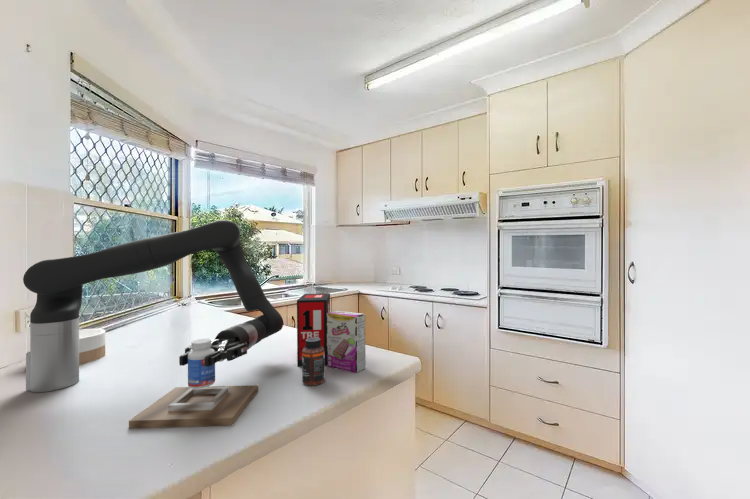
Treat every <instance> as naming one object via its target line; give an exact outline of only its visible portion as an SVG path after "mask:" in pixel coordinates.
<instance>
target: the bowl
mask: <svg viewBox="0 0 750 499" xmlns="http://www.w3.org/2000/svg"><path fill="white" fill-rule="evenodd" d="M105 356H106V329H102V328H85V329H84V328H83V329H79V366H80V365H83V364H88V363H91V362H93V361H94V362H95V361H97V360H99V359H101V358H103V357H105Z"/></svg>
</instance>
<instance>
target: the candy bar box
mask: <svg viewBox="0 0 750 499" xmlns="http://www.w3.org/2000/svg"><path fill="white" fill-rule="evenodd" d="M326 367H327V368H332V369H337V370H340V371H345V372H349V373H355V374H359V373H360V372H362V371H364V370H365V369H366V314H365V313H361V312H351V311H345V310H336V309H335V310H333V311H330V312H328V313H327V366H326Z"/></svg>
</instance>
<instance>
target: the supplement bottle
mask: <svg viewBox="0 0 750 499" xmlns="http://www.w3.org/2000/svg"><path fill="white" fill-rule="evenodd" d="M305 345H306V346H305V347H304V348H303V350H302V367H301V375H302V377H301V378H302V380H301V381H302V384H304V385H306V386H318V385H321V384H323V383H324V382H325V380H326V369H325V368H326V366H325V351H324V347H322V346H321V339H320V338H308V339H306V343H305Z"/></svg>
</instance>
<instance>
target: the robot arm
mask: <svg viewBox="0 0 750 499" xmlns="http://www.w3.org/2000/svg"><path fill="white" fill-rule="evenodd" d="M240 235H241V232H240V228H239V226H238V225H237V223H235V222H233V221H231V220H229V219H219V220H218V219H217V220H215V221H212V222H208V223H206V224H203V225H200V226H196V227H193V228H189V229H186V230H181V231H175V232H169V233H166V234H160V235H154V236H150V237H145V238H140V239H137V240H132V241H129V242H126V243H121V244H117V245H114V246H110V247H107V248H104V249H100V250H98V251H95V252H90V253H87V254H81V255H75V256H69V257H61V258H54V259H45V260H44V259H43V260H41V261H38V262H36V263H34V264H32V265H31V266H29V268H28V269H27V270H26V271H25V272H24V274H23V276H22V278H23V279H22V280H23V281H22V282H23V285H24V286H25V288H26V289H27V290H28V291H30V292H32V293H34V294H36V303H35V305H34V306H33V309H32V310H31V312H30V314H29V317H30V318H29V322H30V323H29V324H30V325H29V336H30V337H29V338H30V340H29V343H30V344H29V351H27V352H26V353H25V391H30V392H32V393H45V392H51V391H52V392H53V391H56V390H60V389H64V388H67V387H70V386H73V385H75V384H77V383H78V382H79V381H80V365H79V330H80V310H81V307H82V303H83V285H85V284H88V283H89V284H90V283H91V282H96V281H99V280H105V279H111V278H116V277H124V276H128V275H129V276H130V275H134V274H139V273H143V272H144V273H145V272H148V271H152V270H156V269H160V268H163V267H167V266H169V265H171V264H173V263H176V262H178V261H179V260H181V259H184V258H186V257H188V256H190V255H192V254H195V253H199V252H204V251H210V250H215V252H216V253H217V255H218V256H219V257H220V259H221V261H222V262H223V264H224V266H225V268H226V270H227V271H228V274H229V275H230V279H231V280H232V283H233V285H234V288H235V290H236V293H237V295H238V297H239V299H240V301H241V303H242V305H243V307H244V309H245V311H246V312H254V311H259V312H260V313H262V315H259V316H257V317H255V318H253V319H250V320H247V321H244V322H242V323H238V324H235V325H233V326H230V327H228V328H226V329H223V330H221V331H220V332H219V333H217V335H216V336H215V338H214V339H211V340H212V346H211V347H210V348H212V349H214V351H215V352H213V353H211V354H209V355H207V356H206V357H205V366H207V367H209V366H211V365H213V364H214V363H215V364H216V363H217V362H224V360H226V361H227V362H231V361H233V360H235V359H238V358H239V357H243V356H245V355H247V354H248V350H250V349H251V348H252V347H254V346H255V345H257V344H258V343H260V342H262V340H265V339H266V338H269V337H270V336H272V335H275V334H277V333H279V332H280V331H281V330H282V329H283V327H284V319H283V316H282V315H281V314H280V312H279V311H278V310H277V308H275V307H274V306H273V304H272V303H271V302H270V301H269V300H268V298H267V297H266V295H265V293H264V291H263V288H262V286H261V284H260V283H259V280H258V279H257V277H256V275H255V274H254V272H253V271H252V269H251V268H250V266H249V264H248V262H247V260H246V258H245V255H244V253H243V250H242V247H241V243H240V239H241V236H240ZM192 350H193V349H191V344H190V345H189V346H187V347H185V348H184V353H183V354H181V355H180V356H179V358H178V360H179V361H178V363H179V366H180V367H182V366H186V365H188V354H189V353H190V352H191V351H192Z"/></svg>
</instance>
